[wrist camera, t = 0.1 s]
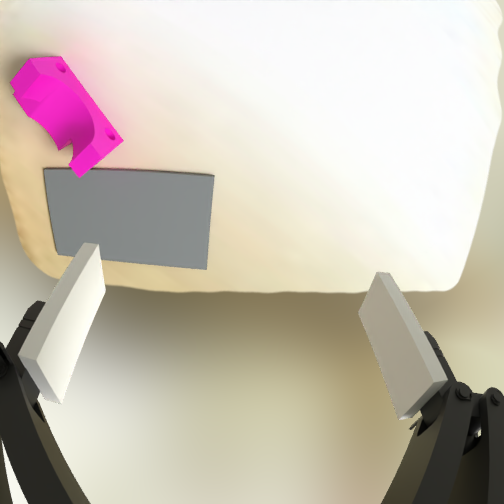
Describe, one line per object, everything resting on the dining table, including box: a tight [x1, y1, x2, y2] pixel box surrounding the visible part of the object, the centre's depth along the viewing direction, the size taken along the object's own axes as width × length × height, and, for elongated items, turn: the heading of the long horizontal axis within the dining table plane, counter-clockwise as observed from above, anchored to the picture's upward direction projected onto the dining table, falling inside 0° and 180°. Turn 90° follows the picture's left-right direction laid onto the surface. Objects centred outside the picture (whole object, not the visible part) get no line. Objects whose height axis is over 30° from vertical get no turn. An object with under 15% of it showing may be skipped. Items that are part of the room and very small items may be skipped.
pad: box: [44, 168, 214, 270], centre depth 40 cm, size 14×24×1 cm, turn 82°
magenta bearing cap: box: [10, 56, 123, 178], centre depth 29 cm, size 15×6×8 cm, turn 31°
